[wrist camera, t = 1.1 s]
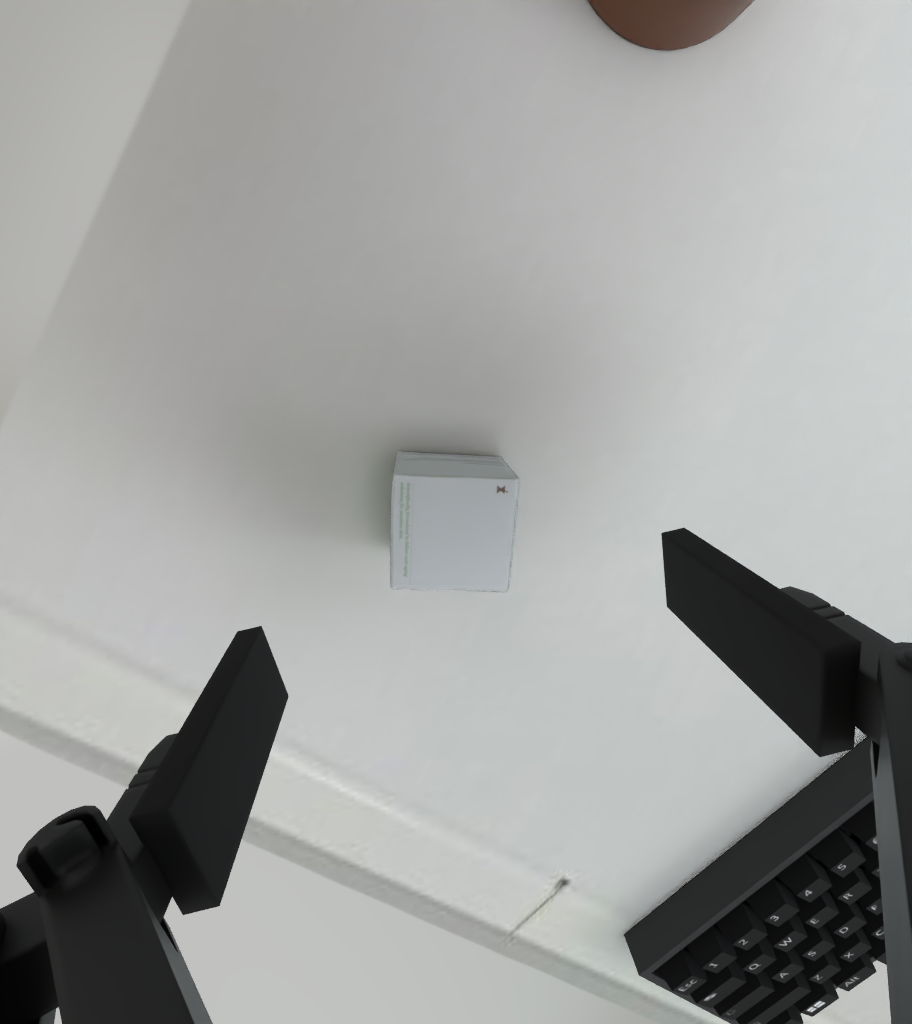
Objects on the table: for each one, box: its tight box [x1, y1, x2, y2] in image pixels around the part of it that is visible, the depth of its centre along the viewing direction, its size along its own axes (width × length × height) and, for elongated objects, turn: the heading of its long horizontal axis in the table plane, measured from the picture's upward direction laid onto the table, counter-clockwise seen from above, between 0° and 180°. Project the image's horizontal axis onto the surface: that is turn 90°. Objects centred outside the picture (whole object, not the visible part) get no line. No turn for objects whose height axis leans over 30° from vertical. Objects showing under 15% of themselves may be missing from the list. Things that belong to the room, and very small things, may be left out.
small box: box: [390, 451, 519, 592], centre depth 24 cm, size 6×6×5 cm
